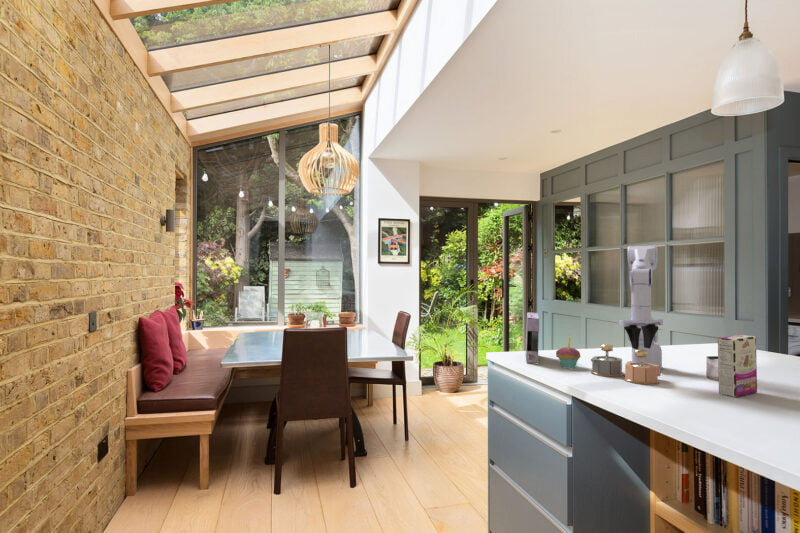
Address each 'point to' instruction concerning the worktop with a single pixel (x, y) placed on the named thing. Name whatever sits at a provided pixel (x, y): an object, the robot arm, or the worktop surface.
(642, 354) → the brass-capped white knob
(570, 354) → the cupcake
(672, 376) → the worktop surface
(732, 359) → the candy bar box
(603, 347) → the brass-capped silver knob
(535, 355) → the cake pan box
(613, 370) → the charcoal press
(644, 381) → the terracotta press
